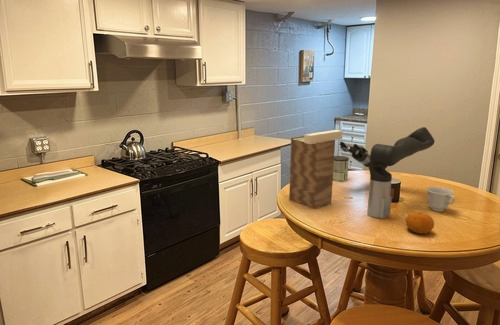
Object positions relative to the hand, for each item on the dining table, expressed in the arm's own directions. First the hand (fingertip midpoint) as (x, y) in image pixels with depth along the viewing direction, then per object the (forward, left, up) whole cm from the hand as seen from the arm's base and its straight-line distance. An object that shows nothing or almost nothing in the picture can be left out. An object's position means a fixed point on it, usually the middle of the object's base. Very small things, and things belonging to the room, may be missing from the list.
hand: (347, 144), depth 189 cm
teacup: (-44, -17, -28) cm, 55 cm away
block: (0, +19, +4) cm, 20 cm away
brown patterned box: (+4, +22, -28) cm, 36 cm away
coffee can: (+20, -23, -28) cm, 42 cm away
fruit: (-49, +14, -28) cm, 58 cm away
